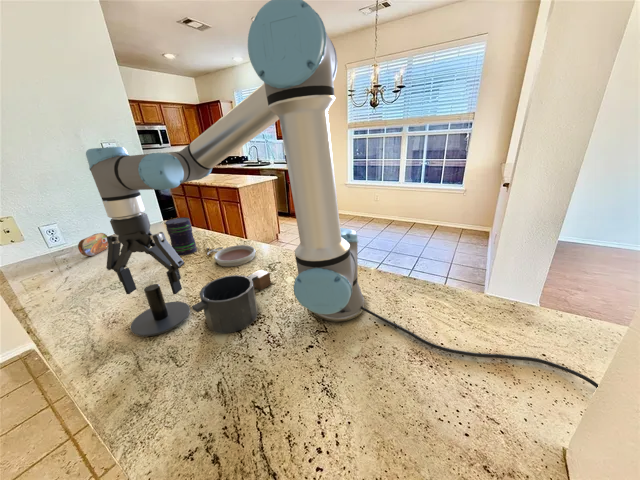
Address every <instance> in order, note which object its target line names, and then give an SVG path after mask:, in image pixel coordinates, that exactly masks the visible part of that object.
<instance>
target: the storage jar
mask: <svg viewBox="0 0 640 480" xmlns="http://www.w3.org/2000/svg"><path fill="white" fill-rule="evenodd" d="M164 223H165V227H166V231H167V234H168V236H169V239H170V245H171V246H172V247H173V249H174V250H175V251H176V252H177V254H178V255H179V256H180V257H181V256H182V257H183V256H188V255H192V254H194V253H195V252H197V250H198V248H197V243H196V241H195V240H196V239H195V237H194V233H193V227H192V223H191V219H190V218H189V217H187V216H185V217H176V218H171V219H168V220H166V221H165V222H164Z"/></svg>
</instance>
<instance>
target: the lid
mask: <svg viewBox="0 0 640 480" xmlns="http://www.w3.org/2000/svg"><path fill="white" fill-rule="evenodd" d="M161 288H162V287H161V285H160V284H159V283H152V284H149V285H147V286H146V287H144V289H143V291H144V294H145V297H146V300H147V302H148V305H149V308H148V309H146V310H144V311H142V312H141V313H140V314H138V315H137V316H136V317H135V318H134V319H133V320H132V322H131V324H130V331H131V333H132V334H133V335H134V336H138V337H143V338H145V337H153V336H158V335H161V334H164V333H166V332H169V331H171V330H173V329H175V328H177V327H179V326H180V325H181V324H182V323H184V322H185V321H186V320H187V319H188V317H189V316H190V314H191V307H190V305H189V304H188V303H186V302H183V301H169V302H166V301H165V298H164V295H163V292H162V289H161Z"/></svg>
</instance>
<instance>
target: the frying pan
mask: <svg viewBox="0 0 640 480" xmlns="http://www.w3.org/2000/svg"><path fill="white" fill-rule="evenodd" d="M205 251H206V252H207V253H206V255H207V256H209V255H211V253H215V254H214V256H213V260H214V261H215V262H216V263H217V265H218V266H221V267H236V266H241V265H244V264H247V263H249V262H251V261H252V260H253V259H254V258H255V255H256V252H257V251H256V248H255V247H253V246H252V245H248V244H247V245H246V244H239V245H238V244H237V245H232V246H228V247H225V248H224V247H223V246H219V247H216V248H214V249H213V248H210V247H209V246H207V247H205Z"/></svg>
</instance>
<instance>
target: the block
mask: <svg viewBox="0 0 640 480" xmlns="http://www.w3.org/2000/svg"><path fill="white" fill-rule="evenodd" d="M252 274H254V275H256V276H258V279H257V280H255V281H253V283H254V289H257V290H260V291H263V290H264V289H265V288H267V287H269V286H270V285H272V281H271V275H270V274H271V273H270V272H269V271H267V270H263V269H258V270H257V271H255V272H253V273H252Z"/></svg>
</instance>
